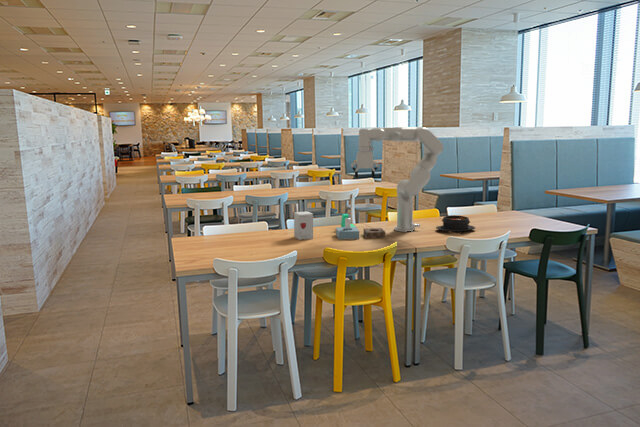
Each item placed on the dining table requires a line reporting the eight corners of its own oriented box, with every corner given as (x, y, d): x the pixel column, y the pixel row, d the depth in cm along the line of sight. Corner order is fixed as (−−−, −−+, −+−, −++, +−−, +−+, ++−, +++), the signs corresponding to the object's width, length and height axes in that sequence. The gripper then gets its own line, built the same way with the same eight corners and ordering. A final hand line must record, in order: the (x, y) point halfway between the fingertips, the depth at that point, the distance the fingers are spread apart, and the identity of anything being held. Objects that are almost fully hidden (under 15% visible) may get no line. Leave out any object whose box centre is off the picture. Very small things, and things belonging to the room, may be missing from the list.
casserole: (464, 226, 315) (465, 213, 314) (481, 232, 298) (482, 219, 296) (429, 229, 308) (430, 215, 307) (445, 235, 291) (446, 221, 289)
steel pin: (350, 236, 290) (350, 217, 288) (350, 237, 287) (350, 218, 285) (344, 236, 290) (344, 218, 288) (345, 237, 286) (345, 219, 284)
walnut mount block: (381, 233, 295) (381, 228, 295) (385, 237, 285) (385, 232, 284) (363, 234, 294) (363, 228, 294) (366, 238, 284) (366, 232, 283)
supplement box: (298, 240, 280) (298, 214, 277) (293, 236, 288) (293, 212, 286) (313, 238, 283) (313, 213, 281) (308, 235, 292) (308, 210, 289)
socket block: (356, 234, 295) (356, 226, 294) (359, 238, 283) (359, 231, 282) (336, 234, 294) (336, 227, 293) (338, 239, 282) (338, 231, 281)
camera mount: (356, 231, 302) (356, 215, 300) (344, 232, 300) (344, 216, 299) (352, 227, 313) (352, 212, 311) (340, 228, 312) (341, 212, 310)
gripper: (377, 149, 296) (377, 177, 299) (349, 149, 295) (349, 177, 298) (380, 149, 289) (380, 178, 292) (351, 150, 287) (351, 179, 290)
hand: (364, 178), depth 295 cm, fingers open, 9 cm apart
